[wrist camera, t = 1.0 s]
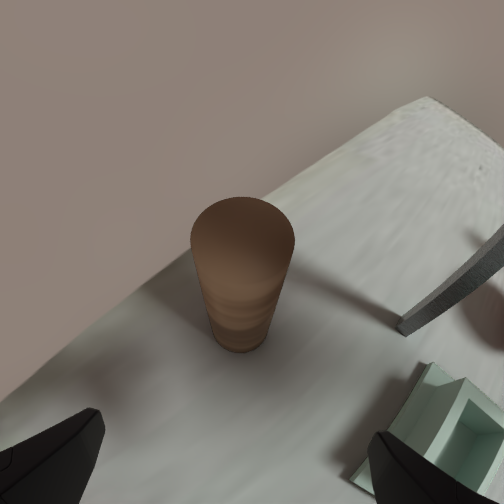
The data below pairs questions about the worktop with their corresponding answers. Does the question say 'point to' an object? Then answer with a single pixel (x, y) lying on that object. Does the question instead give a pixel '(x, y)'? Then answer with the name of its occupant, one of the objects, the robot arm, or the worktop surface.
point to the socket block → (449, 430)
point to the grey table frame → (457, 285)
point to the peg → (241, 267)
